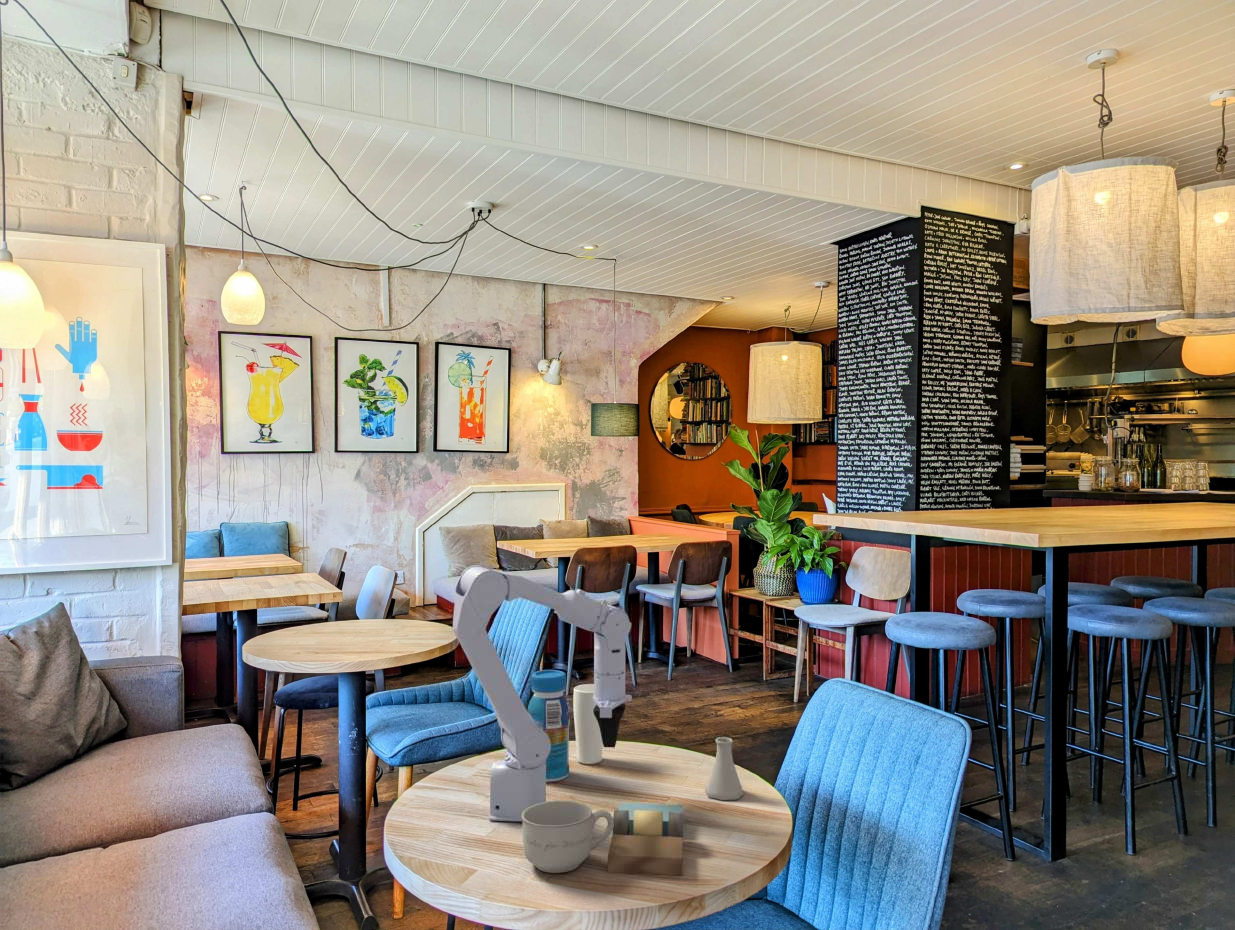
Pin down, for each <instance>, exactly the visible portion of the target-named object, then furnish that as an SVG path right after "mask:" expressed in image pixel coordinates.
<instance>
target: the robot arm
mask: <svg viewBox="0 0 1235 930" xmlns="http://www.w3.org/2000/svg"><path fill="white" fill-rule="evenodd" d="M453 591H454V608H453V618H452V629H453V632H454V635H455V637H456V639H457V640H458V643H459V644H460V646H461V648H462V650H463V653H465V656H466V658H467V660H468V661H469V664H470V666H471V668H472V670H473V671H474V673H475V675H476V678H477V679H478V681H479V684H480V685H481V687H482V689H483V691H484V693H485V695H486V696H487V697H486V698H487V699H488V701H489V703H490V705H491V707H492V709H493V711H494V713H495V715H496V717H497V723H498V725H499V727H500V741H501V744H502V745H503V747H504V748H505V749H506V753H505V756H504V759H501V760H500V759H499V760H495V761H494V762H493V765H492V767H491V772H490V780H489V781H490V782H489V783H490V784H489V787H490V788H489V791H490V794H489V796H490V797H489V798H490V799H489V801H490V802H489V803H490V804H489V807H490V809H489V813H490V814H489V817H488V819H489V821H497V822H498V821H499V822H500V821H501V822H502V821H503V822H522V823H523V820H522V813H523V812H524V811H525V810H526V809H527V808H528V807H530V806H533V805H536V804H539V803H543V802H548V801H549V800H547V782H546V759H547V757H548V755H549V753H550V749H551V742H550V739H549V737H548V736H547V734H546V733H545V732H543V731H542V730H540V729H539V728H538V727H537V726H536V724H535V722H534V720H533V719H532V717H531V716H530V714H529V712H528V709H527V708H526V707H525V705H524V704H523V701H522V699H521V697H520V696H519V694H518V692H517V689H516V687H515V685H514V684H513V682H512V679H511V677H510V675H509V674H508V672H507V670H506V668H505V665H504V663H503V662H502V659H501V657H500V656H499V655H500V654H499V653H498V651H497V649H496V648H495V645H494V644H493V641H492V640H491V638H490V636H489V634H488V631H487V627H488V624H489V622H490V619H491V617H492V615H493V614H494V613H495V612H496V611H497V609H498V608H499V607H500V606H501V605H502V603H503V602H504V601H508V602H512V601H514V600H516V599H519V598H521V599H524V600H526V601H529V602H532V603H535V604H538V605H541V606H544V607H547V608H549V609H553V610H555V612H556V614H557V618H558V619H559V620H560V621H563V622H565V623H568V624H570V625H573V626H575V627H577V628H580V629H583V630H585V631H588V632H593V633H594V649H593V650H594V651H593V653H594V654H593V655H594V656H593V660H594V661H593V670H594V671H593V675H594V676H593V684H594V695H593V701H594V702H595V703H596V704H597V705H596V706H595V707H594V709H593V713H594V715H595V717H596V719H597V721H598V724H599V727H600V732H601V737H602V742H603V748H611V749H612V748H614V749H615V747H616V745H617V741H618V740H617V739H618V736H619V731H620V730H619V727H620V723H621V719H622V718H623V716H624V714H625V711H626V704H625V702H631V701H632V698H633V697H632V695H631V694H626V638H627V637H628V635H629V633H630V632H631V628H632V622H631V621H630V619H629V616H628V614H627V613H626V611H625V610H624V609H622V608H620V607H617V606H613V605H611V604H608V601H607V600H606V599H603V598H600V600H598V599H596V598H593V597H592V596H588V595H586V593H587V592H586V591H584V590H582V589H579V588H576V590H573V589H570V590H567V591H565V592H563V593H562V592H558V591H557V590H554V589H552V588H549V587H546V586H544V585H542V584H539V583H538V582H535V581H533V580H531V579H528V578H526V577H523V576H522V575H521V576H520V575H518V574H515V573H511V572H507V571H503V570H498V569H494V568H491V569H489V568H487V567H485V566H483V565H478V564H475V565H474V564H473V565H470V566H468V567H466V568H465V569H464V570H463V571H462V572H461V574H460V575H459V578H458V580H457V581H456V584H455V586H454V588H453Z"/></svg>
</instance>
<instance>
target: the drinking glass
mask: <svg viewBox="0 0 1235 930" xmlns="http://www.w3.org/2000/svg"><path fill="white" fill-rule="evenodd" d="M593 695H594V683H586V684H579V685H576V686H575V687H573V697H572V699H573V704H572V707H573V708H572V709H573V719H574V720H573V721H574V734H575V745H576V747H575V748H576V749H575V750H576V760H577V762H578V763H580V764H583V765H595V764H598V763H600V762H601V761H602V760H603V748H604V746H603V742H602V737H601V732H600V727H599V724H598V721H597V719H596V717H595V715H594V713H593V709H594V707H595V706H596V705H597V704H596V703H595V702H594V701H593Z"/></svg>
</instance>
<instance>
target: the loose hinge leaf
mask: <svg viewBox="0 0 1235 930" xmlns="http://www.w3.org/2000/svg"><path fill="white" fill-rule="evenodd" d="M617 810H629V835H637V836H662V837H668V821H669V812H682V813H683V814H684V804H667V803H665V804H664V803H663V804H661V803H659V804H657V803H639V802H638V803H636V802H635V803H634V802H632V803H631V802H619V803H618V809H617Z"/></svg>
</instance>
